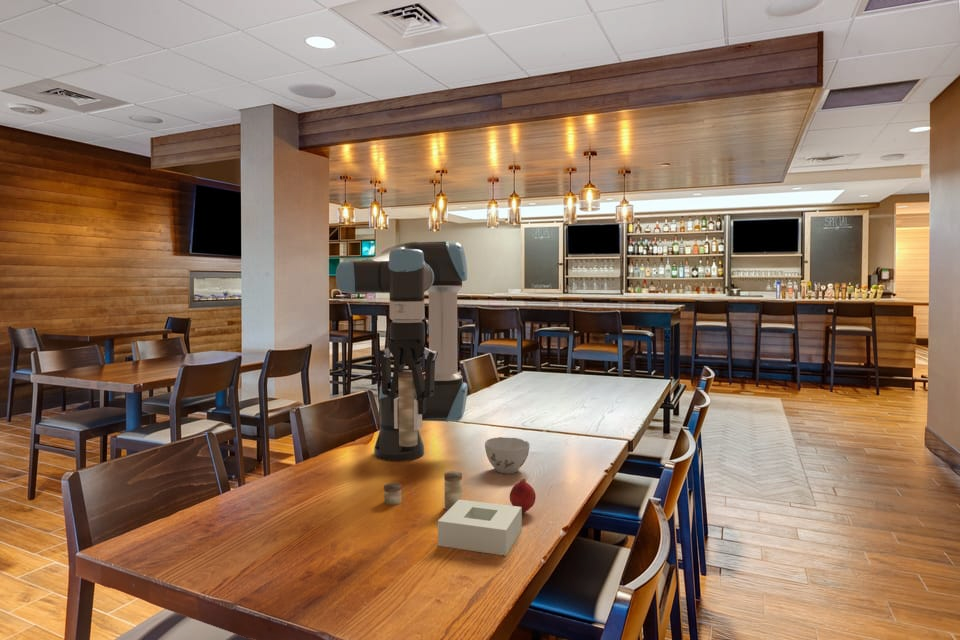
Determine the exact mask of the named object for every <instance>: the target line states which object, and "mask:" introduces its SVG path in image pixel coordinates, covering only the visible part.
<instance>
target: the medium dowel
mask: <svg viewBox="0 0 960 640" xmlns="http://www.w3.org/2000/svg"><path fill="white" fill-rule="evenodd" d="M443 479H444V481H443V484H444V510H445V511H446V512H447V511H448V510H449V509H450V508H451V507H452V506H453V505H454V504H455V503H456V502H457V501H458V500H459V499H460V500H463V484H462V483H463V482H462V481H463V473H462V472H461V471H457V470H455V471H453V470H451V471H450V470H449V471H447V472H444V474H443Z"/></svg>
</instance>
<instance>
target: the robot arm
mask: <svg viewBox="0 0 960 640" xmlns="http://www.w3.org/2000/svg"><path fill="white" fill-rule="evenodd" d="M466 259H467V258H466V254H465V250H464V246H463V245H462V244H461V243H460V242H457V241H447V240H446V241H420V242H419V241H412V242H405V243H400V244H398V245H394V246H391V247H388V248H386V249H384V250H383V251H381V252H380V254H378V255H375V256H372V257H369V258H365V259H362V260H347V261H340V262H339V263H338V265H337V267H336V270H335V283H336V286H337V289H338V291H340V292H341V293H342V294H343V293H344V294H345V293H346V294H352V295H354V294H389V319H390V320H392V321H391V322H390V323H389V339H390V342H389V345H388V347H386V348H382V349H380V350H378V351H377V356H378V358H379V361H380V377H381V379H380V380H381V384H380V386H379V395H378V399H379V400H378V401H379V402H378V403H379V432H378V436H377V438H376V441H375V445H374V449H373V450H374V451H373V454H374V457H375V458H377V459H379V460H383V461H389V462H399V461H400V462H403V461H410V460H414V459H418V458H420V457H422V456H423V455H424V454H425V445H424V442H423V439H422V436H421V432H420V429H422V428H423V422H446V423H448V422H458V421H461V420H462V419H463V417H464V414H465V411H466V409H465V408H466V405H467V398H468V383H466V382H465V381H464V382H463V375H461V373H460V372H459V371H458V292H459V291H460V290H461V288H462V287H463V282H465V281H467V280H468V268H467V267H468V266H467V260H466ZM425 292H428V348H427V345H426V343H425V339H426V337H425V336H426V331H425V330H426V328H425V327H426V325H425V324H426V323H425V322H424V321H423V320H424V319H425V317H426V316H425V315H426V314H425ZM391 356H392V357H393V358H394V361H393V373H392V363H391V361H392V360H391ZM423 356H424V359H425V364H424V365H425V369H424V376H423V371H422V360H421V359H422V357H423ZM406 364H407V365H409V368H410V369H409V370H412V375H413V380H414V385H415V391H416V396H417V398H415V400H414V430H417V438H418V444H417V445H416V446H411V447H403V446H400V445H399V385H398V372H400V371H403V370H405V369H404V368H405V367H406Z"/></svg>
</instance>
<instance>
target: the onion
mask: <svg viewBox="0 0 960 640" xmlns="http://www.w3.org/2000/svg"><path fill="white" fill-rule="evenodd" d="M536 496H537V495H536V492H535V489H534V487H532V486H531V485H530V484H529V483H528V482H527V479H526V478H525V477H522V478H521V479H519V482H517V483H516V484H514V485H513V487H512V488H511V490H510V492H509V501H510V503H511V506H518V507H522V514H525V513H526V512H527V511H529V510H530V509H531V508H532V507H533V506H534V505H535V503H536Z"/></svg>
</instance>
